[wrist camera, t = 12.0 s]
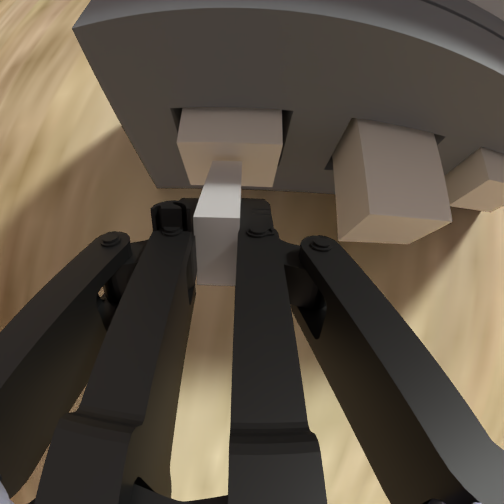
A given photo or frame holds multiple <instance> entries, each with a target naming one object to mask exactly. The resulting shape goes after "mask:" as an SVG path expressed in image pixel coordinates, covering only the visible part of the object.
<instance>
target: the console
mask: <svg viewBox="0 0 504 504" xmlns="http://www.w3.org/2000/svg"><path fill="white" fill-rule="evenodd" d="M72 30H73V32H74V34H75V36H76V38H77V40H78V42H79V44H80V46H81V48H82V50H83V52H84V54H85V56H86V58H87V60H88V62H89V64H90V66H91V68H92V70H93V72H94V74H95V76H96V78H97V80H98V82H99V84H100V86H101V88H102V90H103V91H104V93H105V95H106V97H107V99H108V101H109V103H110V105H111V107H112V108H113V110H114V112H115V114H116V116H117V118H118V120H119V121H120V123H121V125H122V127H123V129H124V131H125V132H126V134H127V136H128V138H129V140H130V141H131V143H132V145H133V147H134V149H135V150H136V152H137V154H138V156H139V157H140V159H141V161H142V163H143V164H144V166H145V168H146V170H147V171H148V173H149V175H150V177H151V178H152V180H153V182H154V184H155V185H156V187H157V188H203V186H204V185H191V184H190V181H189V179H188V176H187V173H186V170H185V167H184V164H183V160H182V157H181V154H180V151H179V148H178V145H177V137H178V131H179V125H180V119H181V113H182V108H190V107H234V108H261V109H278V110H282V135H283V146H282V150H281V154H280V158H279V162H278V166H277V170H276V174H275V178H274V182H273V186H272V187H254V186H241V189H251V190H274V191H293V192H310V193H324V194H335V182H334V171H333V160H332V154H333V152H334V150H335V148H336V146H337V145H338V143H339V141H340V139H341V137H342V135H343V133H344V131H345V130H346V128H347V126H348V124H349V122H350V120H351V118H359V119H365V120H371V121H377V122H382V123H388V124H393V125H398V126H403V127H408V128H412V129H417V130H421V131H425V132H430V133H434V136H435V140H436V143H437V147H438V151H439V155H440V159H441V164H442V168H443V172H444V176H445V175H446V174H448V173H449V172H450V171H451V170H453V169H454V168H455V167H456V166H458V165H459V164H460V163H461V162H463V161H464V160H465V159H466V158H468V157H469V156H470V155H471V154H473V153H474V152H475V151H476V150H478V149H479V148H480V147H484V148H487V149H490V150H493V151H496V152H499V153H502V154H504V0H91V1H90V3H89V4H88V5H87V7H86V8H85V10H84V11H83V12H82V14H81V15H80V17H79V18H78V20H77V21H76V23H75V24H74V26H73V28H72ZM450 207H452V206H450ZM457 208H459V207H457ZM464 209H466V208H464ZM471 210H472V209H471ZM477 211H479V210H477Z"/></svg>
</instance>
